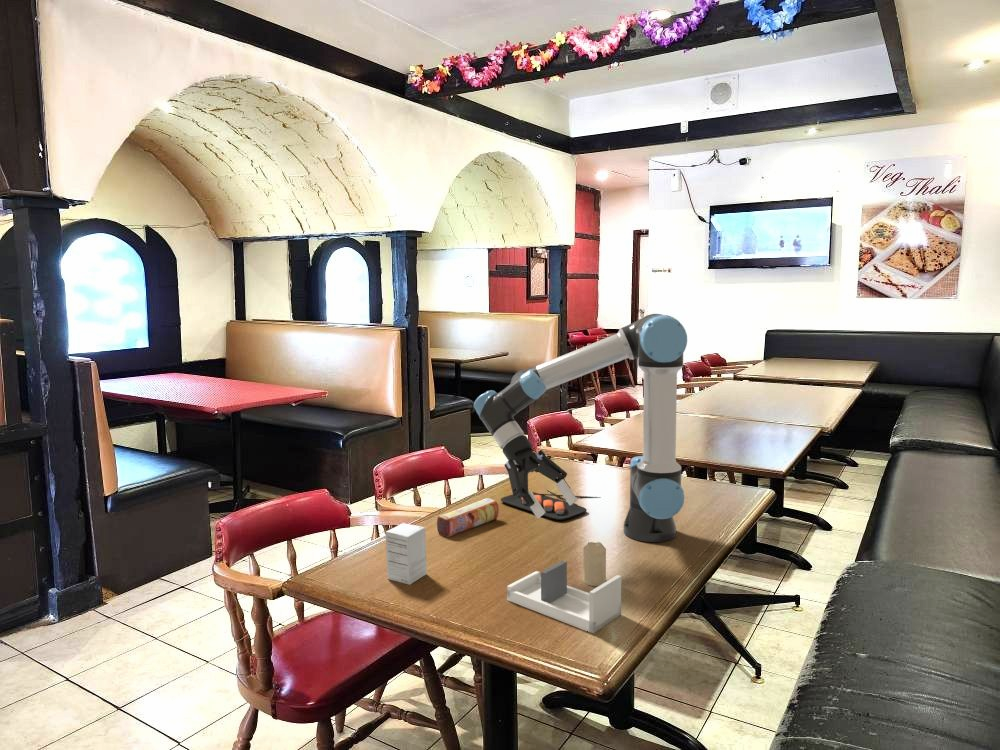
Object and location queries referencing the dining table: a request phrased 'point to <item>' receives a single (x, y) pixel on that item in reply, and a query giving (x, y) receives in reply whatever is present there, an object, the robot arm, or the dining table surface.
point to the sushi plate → (549, 505)
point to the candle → (594, 564)
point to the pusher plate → (554, 582)
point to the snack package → (467, 517)
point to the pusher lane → (571, 602)
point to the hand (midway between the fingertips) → (558, 508)
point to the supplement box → (406, 553)
